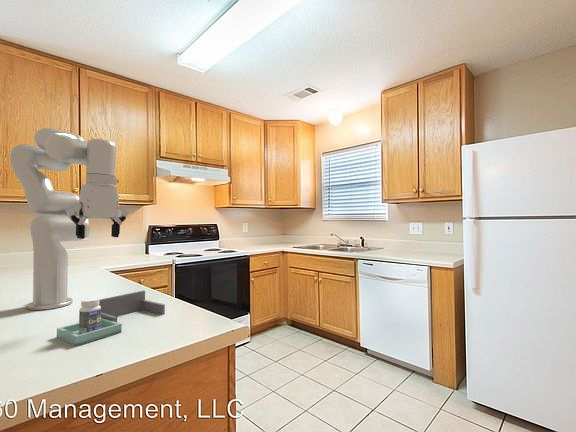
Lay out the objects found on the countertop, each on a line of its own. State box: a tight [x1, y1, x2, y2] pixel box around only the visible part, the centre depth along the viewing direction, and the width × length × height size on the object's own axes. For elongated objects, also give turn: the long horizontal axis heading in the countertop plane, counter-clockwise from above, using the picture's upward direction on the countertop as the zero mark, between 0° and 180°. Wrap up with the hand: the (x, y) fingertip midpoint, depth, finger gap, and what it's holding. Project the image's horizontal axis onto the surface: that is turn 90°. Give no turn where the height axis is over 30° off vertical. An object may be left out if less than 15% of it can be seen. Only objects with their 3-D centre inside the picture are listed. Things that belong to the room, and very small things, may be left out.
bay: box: [99, 290, 166, 323], centre depth 93 cm, size 12×16×6 cm
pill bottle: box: [78, 297, 101, 334], centre depth 79 cm, size 5×5×8 cm
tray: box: [56, 317, 123, 347], centre depth 79 cm, size 11×11×2 cm
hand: (98, 237), depth 92 cm, fingers open, 9 cm apart
